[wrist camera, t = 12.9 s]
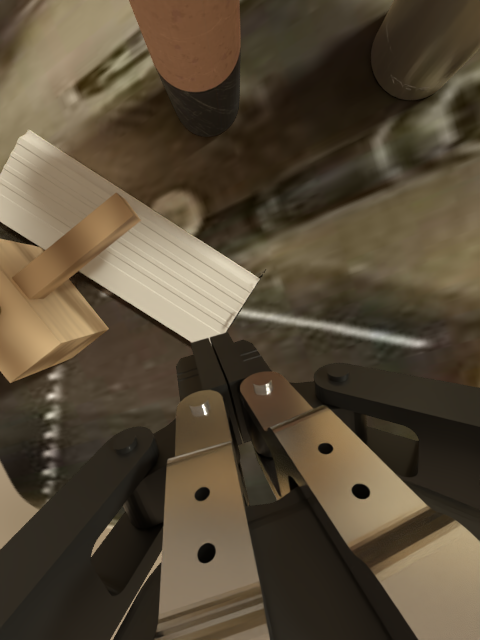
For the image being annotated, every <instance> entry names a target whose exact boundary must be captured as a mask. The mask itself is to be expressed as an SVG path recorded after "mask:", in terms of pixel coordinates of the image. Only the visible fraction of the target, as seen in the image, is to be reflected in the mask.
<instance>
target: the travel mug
mask: <svg viewBox="0 0 480 640" xmlns="http://www.w3.org/2000/svg"><path fill="white" fill-rule="evenodd" d="M129 1H130V4H131V7H132V9H133V12H134V14H135V17H136V19H137V22H138V25H139V27H140V30H141V32H142V35H143V37H144V40H145V42H146V45H147V48H148V50H149V53H150V55H151V58H152V60H153V63H154V65H155V67H156V70H157V72H158V74H159V76H160V79H161V81H162V83H163V85H164V87H165V90H166V92H167V94H168V96H169V98H170V101H171V103H172V105H173V107H174V109H175V111H176V114H177V116H178V118H179V119H180V121H181V123H182V124H183V125H184V126H185V127H186V128H187V129H188V130H189V131H191V132H192V133H194V134H196V135H199V136H204V137H211V136H216V135H218V134H221V133H223V132H224V131H226V130H227V129H228V128H229V127H230V126H231V125H232V123H233V122H234V120H235V118H236V116H237V113H238V109H239V96H240V46H241V38H240V6H239V0H129Z"/></svg>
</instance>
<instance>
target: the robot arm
mask: <svg viewBox="0 0 480 640" xmlns="http://www.w3.org/2000/svg"><path fill="white" fill-rule="evenodd" d="M479 49H480V0H394V1H393V3H392V5H391V7H390V9H389V11H388V13H387V15H386V17H385V19H384V20H383V22H382V24H381V26H380V28H379V30H378V32H377V34H376V36H375V39H374V42H373V45H372V50H371V66H372V70H373V73H374V76H375V78H376V80H377V81H378V83H379V84H380V85H381V87H382V88H383V89H384V90H385V91H386V92H388V93H389V94H390V95H392V96H394V97H397V98H399V99H404V100H419V99H423V98H426V97H428V96H430V95H432V94H434V93H435V92H437V91H438V90H439V89H440V88H442V87H443V86H444V85H445V84H446V83H447V82H448V80H449V79H450V78H451V77H452V76H453V75H454V74H455V73H456V72H457V71H458V70H459V69H460V68H461V67H462V66H463V65H464V64H465V63H466V62H467V61H468V60H469V59H470V58H471V57H472V56H473V55H474V54H475V53H476V52H477V51H478V50H479ZM210 341H211V343H210ZM191 346H192V350H193V354H194V355H191V356H188V357H184V358H181V359H180V361H179V362H178V364H177V366H176V370H177V378H178V386H179V394H180V403H179V405H178V406H177V409H176V418H175V420H174V421H172V422H171V423H170V424H169V425H168V426H166V427H164V428H163V429H161V430H159V431H158V432H156V433H154V434H153V433H152V432H151V430H150V429H148V428H146V427H132V428H129V429H126V430H123V431H121V432H119V433H118V434H116V435H115V436H113V437H112V438H111V439H110V440H108V441H107V442H106V443H105V444H104V445H103V446H102V447H101V448H100V449H99V450H98V451H97V452H96V454H95V455H94V456H93V457H92V458H91V459H90V460H89V461H88V462H87V463H86V464H85V465H84V466H83V467H82V468H81V469H80V470H79V471H78V472H77V473H76V474H75V475H74V476H73V477H72V478H71V479H70V480H69V481H68V482H67V483H66V484H65V485H64V486H63V487H62V488H61V489H60V490H59V491H58V492H57V493H56V494H55V495H54V496H53V497H52V498H51V499H50V500H49V501H48V502H47V503H46V504H45V505H44V506H43V507H42V508H41V509H40V510H39V511H38V512H37V513H36V514H35V515H34V516H33V517H32V518H31V519H30V520H29V521H28V522H27V523H26V524H25V525H24V526H23V527H22V528H21V530H19V531H18V533H16V534H15V535H14V536H13V537H12V538H11V540H10V541H9V542H8V543H7V544H6V545H5V546H4V547H3V548H2V549H1V550H0V640H110V639H111V637H112V635H113V634H114V632H115V630H116V628H117V627H118V625H119V623H120V622H121V620H122V618H123V616H124V615H125V613H126V611H127V609H128V608H129V606H130V604H131V603H132V601H133V599H134V597H135V596H136V594H137V592H138V591H139V589H140V587H141V585H142V584H143V582H144V580H145V578H146V577H147V575H148V573H149V572H150V570H151V568H152V566H153V565H154V563H155V561H156V560H157V558H158V556H159V554H160V552H161V551H162V562H161V563H160V564H159V565H158V567H157V568H156V569H155V570H154V572H153V573H152V574H151V575H150V576H149V578H148V579H147V581H146V582H145V584H144V585H143V587H142V588H141V590H140V592H139V593H138V595H137V597H136V599H135V600H134V602H133V604H132V606H131V608H130V610H129V612H128V613H127V615H126V617H125V619H124V621H123V622H122V624H121V626H120V628H119V630H118V632H117V634H116V635H115V637H114V639H113V640H480V388H477V387H471V386H466V385H461V384H455V383H450V382H444V381H439V380H433V379H428V378H422V377H417V376H411V375H406V374H400V373H395V372H389V371H384V370H379V369H373V368H368V367H362V366H357V365H351V364H345V363H334V364H328V365H325V366H323V367H321V368H319V369H318V370H317V371H316V372H315V374H314V381H313V382H303V383H290V382H288V381H287V380H286V379H285V378H284V377H283V376H282V375H281V374H279V373H276V372H272V371H271V370H270V368H269V367H268V365H267V364H266V362H265V361H264V360H263V358H262V357H261V356H260V354H259V352H258V351H257V349H256V348H255V347H254V345H253V344H252V343H250V342H248V341H245V340H241V341H238V342H235V343H233V341H232V339H231V337H230V335H229V334H228V332H226V333H223V334H219V335H216V336H212V337H210V340H209V338H206V339H202V340H199V341H195V342H192V343H191ZM366 415H368V416H371V417H375V418H379V419H382V420H386V421H390V422H393V423H397V424H400V425H404V426H406V427H408V428H410V429H411V430H413V431H414V432H415V433H416V435H417V436H418V439H419V441H415V440H411V439H408V438H405V437H401V436H398V435H394V434H391V433H388V432H384V431H381V430H378V429H374V428H371V427H367V417H366ZM238 428H239V429H238ZM239 430H240V433H241V436H242V438H243V441H244V443H245V442H248V441H252V444H253V446H254V450H255V454H256V458H257V461H258V463H259V465H260V467H261V469H262V471H263V473H264V475H265V477H266V479H267V481H268V483H269V485H270V487H271V489H272V491H273V492H274V494H275V496H276V498H277V501H276V502H273V503H270V504H262V505H254V506H250V504H249V499H248V495H247V490H246V486H245V481H244V477H243V472H242V468H241V464H240V452H239V448H238V445H240V444H242V441H241V437H240V433H239ZM122 506H123V507H124V509H125V513H124V514H123V515H122V517H121V518H120V519H119V521H118V522H117V523H116V525H115V526H114V527H113V529H112V530H111V532H110V533H109V534H108V535H107V537H106V538H105V540H104V541H103V542H102V544H101V545H100V546H99V548H98V549H97V550H96V552H95V553H94V554H93V556H92V557H91V553H92V549H93V547H94V544H95V542H96V540H97V539H98V537H99V536H100V535H101V533H102V532H103V531H104V530H105V528H106V527H107V526H108V524H109V523H110V522H111V520H112V519H113V518H114V516H115V515H116V514H117V513H118V511H119V510H120V509H121V507H122Z"/></svg>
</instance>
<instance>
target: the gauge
mask: <svg viewBox="0 0 480 640" xmlns="http://www.w3.org/2000/svg"><path fill="white" fill-rule="evenodd" d="M140 221H141V219H140V218H139V217H138V215H137V214H136V213H135V211H134V210H133V209H132V208H131V206H130V205H129V204H128V202H127V201H126V200H125V199H124V198H123V197H122V196H120V195H119V194H118V193H115V194H113V195H112V196H111V197H110V198H109V199H107V200H106V201H105V202H104V203H103V204H101V205H100V206H99V207H98V208H96V209H95V210H94V211H93V212H92V213H90V214H89V215H88V216H87V217H85V218H84V219H83V220H82V221H81V222H79V223H78V224H77V225H76V226H74V227H73V228H72V229H71V230H70V231H68V232H67V233H66V234H65V235H63V236H62V237H61V238H60V239H59V240H57V241H56V242H55V243H54V244H52V245H51V246H50V247H49V248H48V249H46V250H44V249H43V248H41V247H37V246H33V245H28V244H23V243H18V242H13V241H8V240H3V239H0V371H1V373H2V374H3V375H4V376H5V377H6V379H7V380H8V381H9V382H10V383H12V382H14V381H17V380H19V379H22V378H24V377H27V376H29V375H32V374H34V373H37V372H39V371H42V370H44V369H47V368H49V367H52V366H54V365H57V364H59V363H62V362H64V361H67V360H69V359H71V358H73V357H74V356H75V355H76V354H78V353H79V352H80V351H82V350H83V349H84V348H85V347H87V346H88V345H89V344H90V343H92V342H93V341H94V340H96V339H97V338H98V337H99V336H101V335H102V334H103V333H105V332H106V331H107V330H108V329H109V328H108V327H107V326H106V325H105V323H104V322H103V321H102V320H101V318H100V317H99V316H98V315H97V313H96V312H95V311H94V310H93V308H92V307H91V306H90V305H89V303H88V302H87V301H86V300H85V298H84V297H83V296H82V295H81V293H80V292H79V291H78V290H77V288H76V287H75V286H74V285H73V283H72V282H71V281H70V280H69V278H70V277H71V276H73V275H74V274H75V273H76V272H78V271H79V270H80V269H81V268H83V267H84V266H85V265H86V264H88V263H89V262H90V261H91V260H93V259H94V258H95V257H96V256H98V255H99V254H100V253H101V252H102V251H104V250H105V249H106V248H107V247H109V246H110V245H111V244H112V243H114V242H115V241H116V240H117V239H119V238H120V237H121V236H122V235H124V234H125V233H126V232H127V231H129V230H130V229H131V228H132V227H134V226H135V225H136V224H137V223H138V222H140Z"/></svg>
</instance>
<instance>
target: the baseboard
mask: <svg viewBox="0 0 480 640" xmlns="http://www.w3.org/2000/svg"><path fill="white" fill-rule="evenodd" d="M115 193H118V194H119V195H120V196H122V197H123V198H124V199H125V200H126V201H127V202H128V204H129V205H130V206H131V208H132V209H133V210H134V211H135V213H136V214H137V215H138V217H139V218H140V219H141V221H140V222H138V223H137V224H136V225H135V226H134V227H132V228H131V229H130V230H129V231H127V232H126V233H125V234H124V235H122V236H121V237H120V238H119V239H117V240H116V241H115V242H114V243H112V244H111V245H110V246H109V247H107V248H106V249H105V250H104V251H102V252H101V253H100V254H99V255H98V256H96V257H95V258H94V259H93V260H91V261H90V262H89V263H88V264H86V265H85V266H84V267H83V268H81V269H80V270H79V272H81V273H82V274H84V275H86V276H87V277H89V278H90V279H92V280H94V281H95V282H97V283H98V284H100V285H101V286H103V287H105V288H106V289H108V290H109V291H111V292H113V293H114V294H116V295H117V296H119V297H121V298H122V299H124V300H125V301H127V302H128V303H130V304H132V305H133V306H135V307H136V308H138V309H140V310H141V311H143V312H144V313H146V314H148V315H149V316H151V317H152V318H154V319H155V320H157V321H159V322H160V323H162V324H163V325H165V326H167V327H168V328H170V329H171V330H173V331H174V332H176V333H178V334H179V335H181V336H182V337H184V338H186V339H187V340H189V341H190V342H195V341H199V340H202V339H206V338H209V340H210V337H212V336H216V335H219V334H223V333H225V332H227V330H228V329H229V327H230V324H232V323H233V322H234V320H235V319H236V316H237V315H238V314H239V312H240V311H241V309H242V308H241V307H243V305H244V304H245V302H246V301H247V300H246V299H248V296H250V293H252V291H253V290H254V288H255V285H257V282H259V280H260V279H261V278H260V279H259V278H258V277H256V276H255V275H253V274H252V273H250V272H249V271H247V270H245V269H244V268H242V267H241V266H239V265H238V264H236V263H235V262H233V261H232V260H230V259H228V258H227V257H225V256H224V255H222V254H221V253H219V252H218V251H216V250H214V249H213V248H211V247H210V246H208V245H207V244H205V243H204V242H202V241H201V240H199V239H197V238H196V237H194V236H193V235H191V234H190V233H188V232H187V231H185V230H184V229H182V228H180V227H179V226H177V225H176V224H174V223H173V222H171V221H170V220H168V219H166V218H165V217H163V216H162V215H160V214H159V213H157V212H156V211H154V210H153V209H151V208H149V207H148V206H146V205H145V204H143V203H142V202H140V201H139V200H137V199H136V198H134V197H132V196H131V195H129V194H128V193H126V192H125V191H123V190H122V189H120V188H118V187H117V186H115V185H114V184H112V183H111V182H109V181H108V180H106V179H105V178H103V177H101V176H100V175H98V174H97V173H95V172H94V171H92V170H91V169H89V168H88V167H86V166H84V165H83V164H81V163H80V162H78V161H77V160H75V159H74V158H72V157H70V156H69V155H67V154H66V153H64V152H63V151H61V150H60V149H58V148H57V147H55V146H53V145H52V144H50V143H49V142H47V141H46V140H44V139H43V138H41V137H39V136H38V135H36V134H35V133H33V132H32V131H30V130H28V131H27V133H26V134H25V135H24V136H21V137H19V139H18V141H17V144H16V146H15V148H14V150H13V151H12V152H11V154H10V157H9V159H8V161H7V163H6V164H5V165H4V167H3V171H2V173H1V174H0V222H2V223H3V224H5V225H6V226H8V227H9V228H11V229H13V230H14V231H16V232H17V233H19V234H21V235H22V236H24V237H25V238H27V239H29V240H30V241H32V242H33V243H35V244H36V245H38V246H40V247H41V248H43V249H44V250H46V249H48V248H49V247H50V246H51V245H52V244H54V243H55V242H56V241H57V240H59V239H60V238H61V237H62V236H63V235H65V234H66V233H67V232H68V231H70V230H71V229H72V228H73V227H74V226H76V225H77V224H78V223H79V222H81V221H82V220H83V219H84V218H85V217H87V216H88V215H89V214H90V213H92V212H93V211H94V210H95V209H96V208H98V207H99V206H100V205H101V204H103V203H104V202H105V201H106V200H107V199H109V198H110V197H111V196H112V195H113V194H115ZM265 271H266V270H265ZM265 271H264V272H265ZM261 277H262V276H261ZM239 310H240V311H239ZM234 318H235V319H234ZM232 321H233V322H232ZM210 343H211V341H210Z"/></svg>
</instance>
